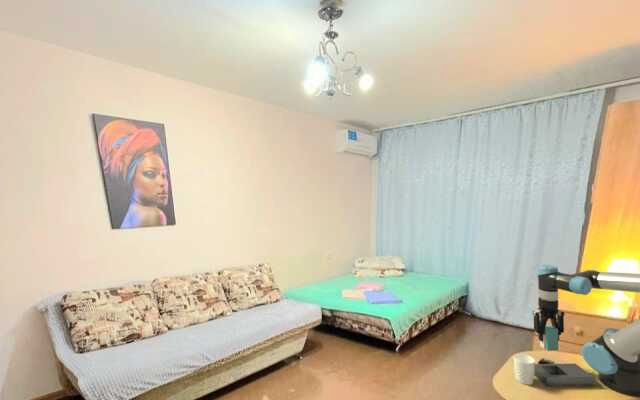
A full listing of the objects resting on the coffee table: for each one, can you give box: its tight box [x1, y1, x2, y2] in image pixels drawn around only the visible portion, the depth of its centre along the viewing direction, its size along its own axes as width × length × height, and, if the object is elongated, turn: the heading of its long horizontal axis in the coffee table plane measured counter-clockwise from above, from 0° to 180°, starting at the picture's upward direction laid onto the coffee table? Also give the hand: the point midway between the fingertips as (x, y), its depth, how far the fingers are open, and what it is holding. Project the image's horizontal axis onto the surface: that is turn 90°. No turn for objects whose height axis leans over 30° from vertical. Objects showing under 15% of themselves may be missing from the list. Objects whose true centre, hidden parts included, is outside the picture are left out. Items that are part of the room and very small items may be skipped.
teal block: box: [544, 324, 559, 351], centre depth 144 cm, size 5×5×10 cm
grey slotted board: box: [534, 363, 595, 388], centre depth 136 cm, size 20×10×4 cm, turn 89°
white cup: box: [513, 353, 536, 386], centre depth 136 cm, size 8×8×10 cm
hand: (549, 347), depth 145 cm, fingers closed on teal block, 5 cm apart
